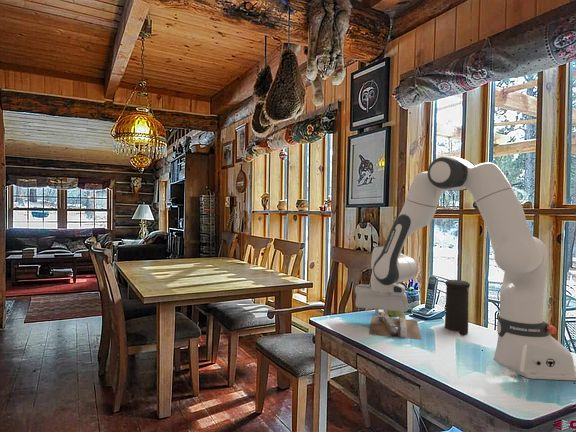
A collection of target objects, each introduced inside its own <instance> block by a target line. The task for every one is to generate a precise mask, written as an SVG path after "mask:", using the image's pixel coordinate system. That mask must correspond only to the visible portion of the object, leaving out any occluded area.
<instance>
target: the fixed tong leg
mask: <svg viewBox="0 0 576 432" xmlns="http://www.w3.org/2000/svg"><path fill="white" fill-rule="evenodd" d="M398 319H399V323H400V335H401V337H402V338H401V339H408V338H407V327H406V321H405V319H406V314H403V313H402V314H399V316H398Z"/></svg>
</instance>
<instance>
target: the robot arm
mask: <svg viewBox="0 0 576 432" xmlns="http://www.w3.org/2000/svg"><path fill="white" fill-rule="evenodd" d="M447 191H448V192H450V191H451V192H454V191H456V192H462V191H469V193H470V194H471V196H472V198H473V200H474V202H475V204H476V207H477V209H478V211H479V213H480V216H481V217H482V220H483V222H484V224H485V227H486V229H487V233H488V237H489V240H490V243H491V247H492V251H493V254H494V255H493V256H494V261H495V263H496V266H498V267H499V268H500V270H502V271H503V272H504V274H503V278H502V284H501V287H500V290H499V291H500V292H499V315H498V316H497V322H496V323H497V326H496V328H497V329H496V331H497V344H496V348H495V351H494V355H493V358H492V360H493V361H495V362H497V363H498V364H501V366H505V367H506V368H508V369H510V370H512V371H514V372H515V373H517V374H519V375H520V376H523V377H525V378H527V379H534V380H535V379H536V380H537V379H539V380H555V381H559V380H560V381H576V366H575V362H574V358H573V355H572V354H571V352H570V350H569V349H568V348H566V347H565V346H564V345H563V344H562V343H561V342H560V341H558V340H557V339H556V338H554V337H553V336H552V335H553V334H556V333H557V331H558V330H557V327H555V326H554V325H552V324H549V323H547V322H546V321H544V295H545V294H544V293H545V286H546V278H547V271H548V258H549V250H548V248H547V246H546V244H545V243H544V242H543V241H542V240H541V239H540V238H538V237H535V236H532V233H531V230H530V227H529V224H528V222H527V219H526V215H525V211H524V209H523V207H522V205H521V203H520V201H519V199H518V197H517V194H516V193H515V191H514V189H513V187H512V184H510V182H509V180H508V178H507V177H506V175H505V174H504V173H503V171H502V170H501V169H500V168H499V166H498V165H497V164H495V163H493V162H482V163H479V164H475V163H473V162H471V160H467V159H465V158H464V159H463V158H461V157H457V156H449V155H446V156H440V157H439V156H438V158H437V157H436V159H434V160H433V161H431V163H429V165H428V168H427V171H422V172H418V173H417V174H416V175H415V176H414V178H413V180H412V182H411V185H410V187H409V189H408V191H407V195H406V198H405V201H404V204H403V206H402V209H401V210H400V213H399V214H398V216H397V218H396V219H395V220H394V221H393V224H392V226H391V228H390V231H389V233H388V236H387V238H386V240H385V243H384V245H383V244H382V245H377V246H375V247H374V248H373V249H372V252H371V259H370V261H371V265H370V267H371V276H370V284H363V283H360V284H358V285H356V286H355V288H354V291H355V292H354V293H355V296H356V297H355V307H356V308H360V309H370V310H371V309H372V310H374V313H375V315H376V317H378V321H384V317H385V315H386V314H387V310H390V311H401V312H402V313H406V312H408V311H409V303H408V296H407V293H406V287H405V285H404V284H401V283H403V282H406V281H410V280H413V279H414V278H415V277H416V276H417V275H418V274H417V273H418V264H417V262H416V260H415V259H414V258H413V257H412V256H409V255H406V254H404V253H402V251H403V248H404V246H405V243H406V241H407V240H408V238H409V237H410V236H411V235H412V234H413V233H415V232H416V231H419V230H420V229H422V228H425V227H426V226H428V225H429V224H430V223H431V222H432V220H433V218H434V217H435V214H436V212H437V208H438V205H439V202H440V199H441V196H442V195H443V193H445V192H447ZM379 310H380V311H381V310H382V311H383V313H384V314H383V316H382V315H380V314H379ZM550 334H552V335H550Z"/></svg>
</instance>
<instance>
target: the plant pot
mask: <svg viewBox="0 0 576 432" xmlns="http://www.w3.org/2000/svg"><path fill="white" fill-rule="evenodd" d="M387 313H388V314H389V316H392V317H399V314H403V312H401V311H390V310H387Z"/></svg>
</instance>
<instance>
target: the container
mask: <svg viewBox="0 0 576 432" xmlns="http://www.w3.org/2000/svg"><path fill="white" fill-rule="evenodd" d="M445 285H446V290H445V292H446V293H445V295H446V296H445V317H444V318H445V319H444V328H445V329H446V330H448V331H452V332H458V333H459V335H460V336H464V335H465V336H466V335H468V333H469V292H470V291H469V290H470V289H469V288H470V286H471V284H470V282H468V281H466V280H461V279H460V280H459V279H447V280H445Z"/></svg>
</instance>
